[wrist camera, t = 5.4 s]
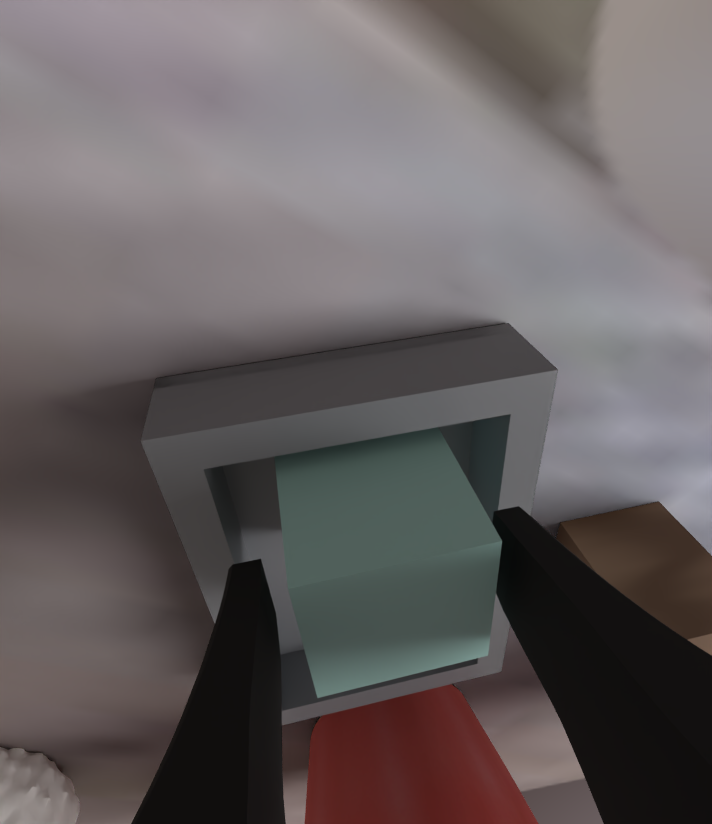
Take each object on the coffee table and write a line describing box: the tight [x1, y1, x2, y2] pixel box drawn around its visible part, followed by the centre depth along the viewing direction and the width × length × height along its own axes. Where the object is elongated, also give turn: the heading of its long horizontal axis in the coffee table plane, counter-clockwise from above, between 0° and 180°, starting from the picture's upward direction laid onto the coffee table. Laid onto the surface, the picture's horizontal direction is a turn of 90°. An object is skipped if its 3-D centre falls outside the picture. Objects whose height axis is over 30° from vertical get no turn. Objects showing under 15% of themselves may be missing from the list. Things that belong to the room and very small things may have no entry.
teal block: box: [274, 427, 502, 698], centre depth 12 cm, size 4×4×5 cm
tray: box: [141, 323, 558, 725], centre depth 15 cm, size 9×13×2 cm
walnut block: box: [556, 502, 712, 655], centre depth 18 cm, size 4×4×5 cm
